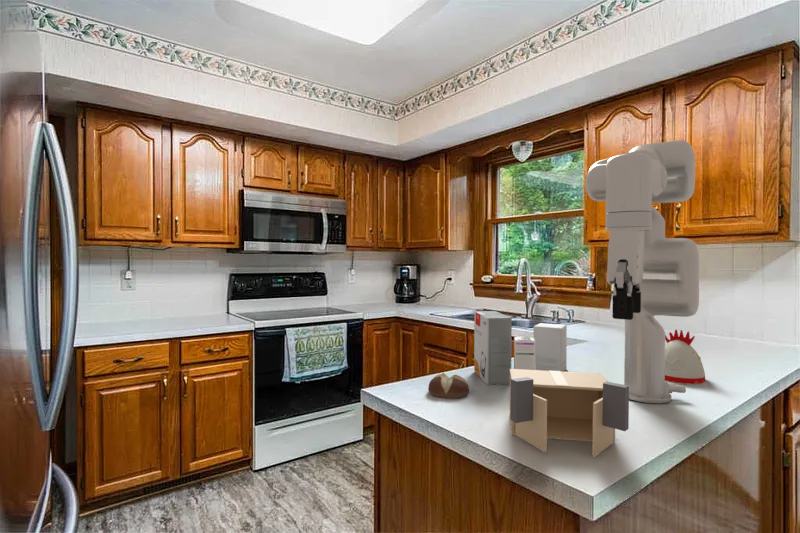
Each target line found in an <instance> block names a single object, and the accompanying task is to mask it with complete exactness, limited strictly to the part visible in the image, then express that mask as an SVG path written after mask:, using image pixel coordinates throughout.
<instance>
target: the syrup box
mask: <svg viewBox="0 0 800 533" xmlns="http://www.w3.org/2000/svg"><path fill="white" fill-rule="evenodd" d="M513 369H524V370H536V354H535V340H534V336H514V337H513Z"/></svg>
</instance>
